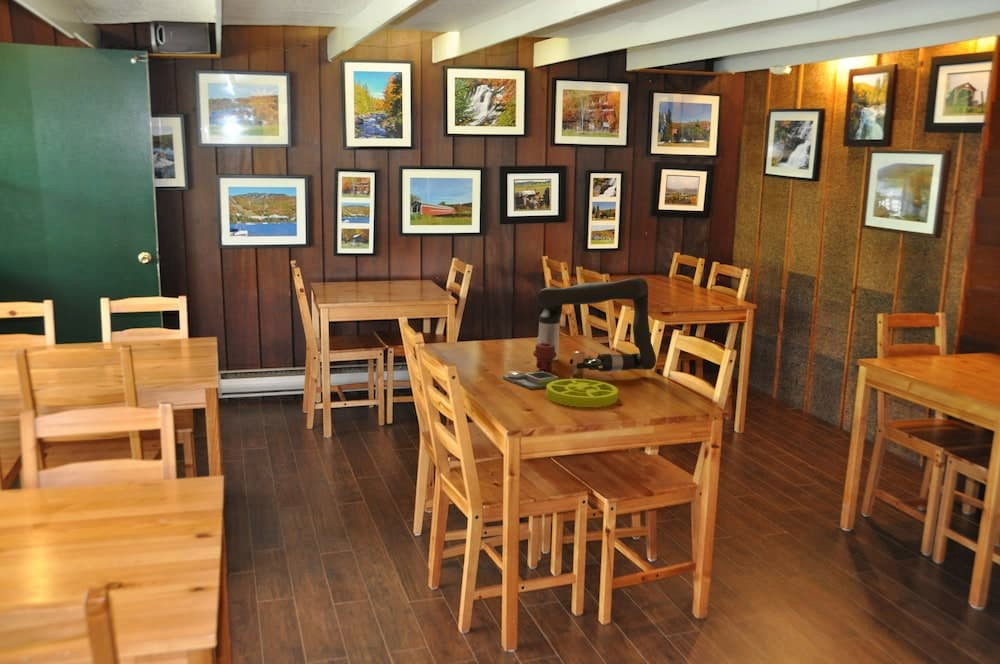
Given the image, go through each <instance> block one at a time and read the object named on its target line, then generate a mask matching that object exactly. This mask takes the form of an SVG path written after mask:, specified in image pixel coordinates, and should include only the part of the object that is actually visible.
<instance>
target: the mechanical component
mask: <svg viewBox="0 0 1000 664" xmlns="http://www.w3.org/2000/svg"><path fill="white" fill-rule="evenodd" d="M533 356H534V357H535V358H536V365H535V367H536V368H537V369H538V372H542V371H545V372H552V371H553V362H554V361H553V358H555V357H556V352H555V345H553V344H550V343H548V342H541V343H540V344H537V343H536V344H535V349H534V351H533Z"/></svg>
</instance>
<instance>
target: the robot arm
mask: <svg viewBox="0 0 1000 664" xmlns="http://www.w3.org/2000/svg"><path fill="white" fill-rule="evenodd" d="M610 300H611V301H612V300H632V303H633V309H634V310H633V312H634V315H633V320H632V321H633V322H632V334H633V342H634V346H635V347H636V348H637V349H638V352H637V353H598V355H597V357H596V358H595V357H592V356H584V363H577V369H585V370H589V371H598V372H602V373H603V372H604V373H606V372H607V373H608V372H618V371H631V370H647V371H648V370H652V369H654V368H655V367H656V364H657V356H656V352H655V349H654V347H653V344H652V339H651V331H650V323H649V285H648V282H647V280H645V278H642V277H640V276H639V277H638V276H637V277H630V278H627V279H623V280H619V281H611V282H605V281H597V282H596V281H595V282H594V281H593V282H585V283H579V284H575V285H570V286H568V287H562V288H559V287H558V286H549V287H544V288H542V289H540V290H539V291H538V293H537V294H536V302H537V304H538V305H539V306H540V307H542V308H543V311H542V312H541V314H540V315H539V316H538V317H539V320H538V336H537V338H536V344H540V343H541V342H548V343H550V344H553V345H555V352H556V357H555V358H553V362H554V361H557V360H558V357H559V356H558V354H559V339H560V338H559V337H560V336H559V335H560V334H559V333H560V321H561V317H562V312H563V306H564V305H565V306H566V305H591V304H598V303H599V304H600V303H604V302H608V301H610ZM572 363H573V358H570V359H569V364H570V365H572Z"/></svg>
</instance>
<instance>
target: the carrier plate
mask: <svg viewBox="0 0 1000 664" xmlns="http://www.w3.org/2000/svg"><path fill="white" fill-rule="evenodd" d="M503 378H504V379H503ZM502 379H503V380H505V379H506V380H505V381H508V380H509V381H508V382H510V381H511V382H510V383H513V382H514V383H513V384H515V383H516V385H518V384H519V386H521V387H523V386H524V387H523V388H526V389H528V388H529V390H531V389H534V390H539V389H538V388H540V389H546V388H545V387H546V386H547V384H548V383H550V382H553V381H557V380H559V376H557V375H554V374H552V373H550V372H548V371H545V372H544V371H542V372H539V371H533V370H532V371H527V372H524V371H522V370H521V371H520V370H510V371H508V372H507V374H506V375H505V374H504V375H502Z"/></svg>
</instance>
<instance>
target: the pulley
mask: <svg viewBox="0 0 1000 664" xmlns="http://www.w3.org/2000/svg"><path fill="white" fill-rule="evenodd" d="M545 391H546V392H545V398H546V399H547V398H548V399H547V400H549V401H550V400H551V401H550V402H552V401H553V403H555V402H556V403H555V404H558V403H560V404H559V405H561V404H564V405H563V406H566V405H569V406H568V407H572V406H576V407H575V408H583V407H596V408H602V407H601V406H605V407H607V406H606V405H610V406H612V405H611V404H613V403H615V402H616V401H617V402H618V401H619V400H618V395H619V388H618V387H616V386H615V385H613V384H610V383H607V382H604V381H600V380H599V381H598V380H594V379H570V378H568V379H567V378H566V379H565V378H564V379H558V380H557V381H553V382H550V383H548V384H547V386H546V388H545ZM617 402H616V403H617ZM616 403H615V404H616ZM613 405H614V404H613Z"/></svg>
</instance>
